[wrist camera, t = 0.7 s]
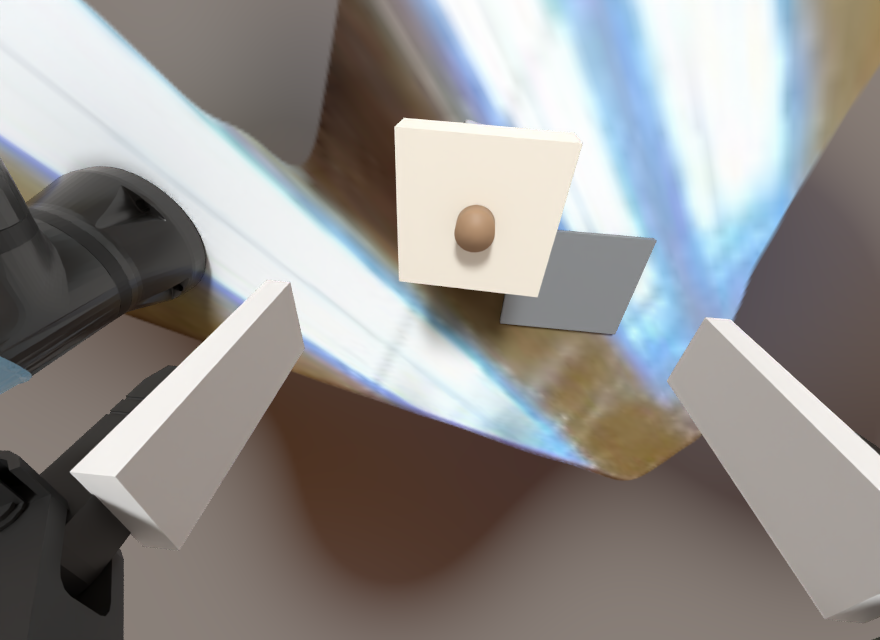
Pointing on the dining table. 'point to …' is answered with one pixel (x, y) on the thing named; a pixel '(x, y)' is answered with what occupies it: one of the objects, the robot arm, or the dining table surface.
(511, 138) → the lid
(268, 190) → the dining table surface
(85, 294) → the robot arm
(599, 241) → the mat
